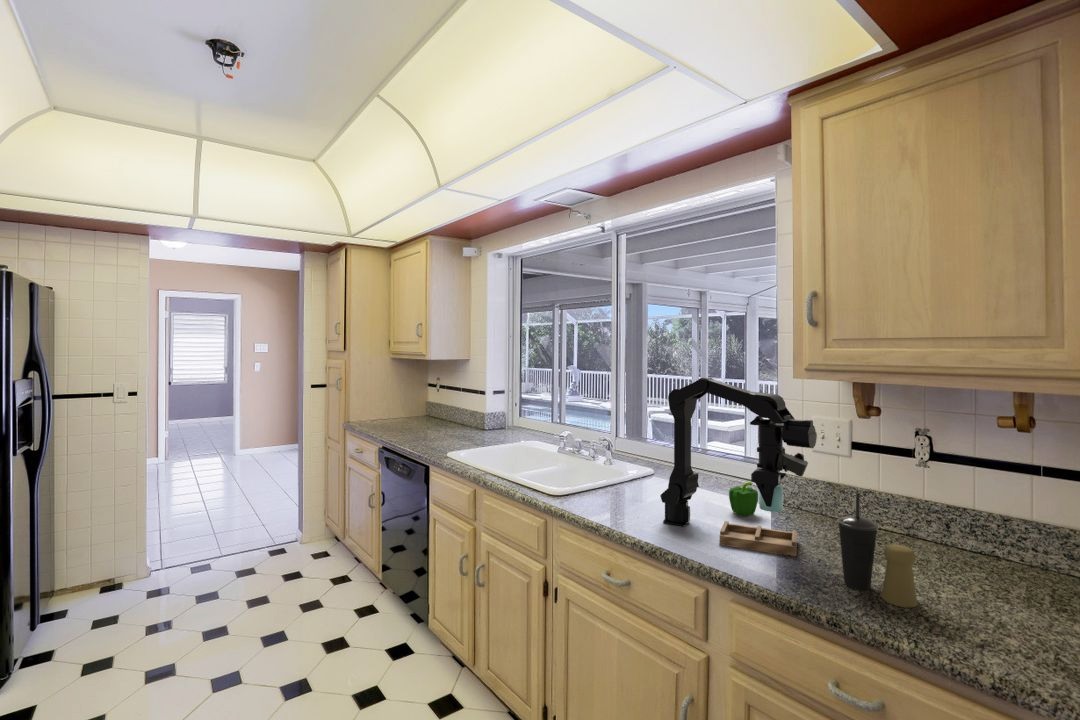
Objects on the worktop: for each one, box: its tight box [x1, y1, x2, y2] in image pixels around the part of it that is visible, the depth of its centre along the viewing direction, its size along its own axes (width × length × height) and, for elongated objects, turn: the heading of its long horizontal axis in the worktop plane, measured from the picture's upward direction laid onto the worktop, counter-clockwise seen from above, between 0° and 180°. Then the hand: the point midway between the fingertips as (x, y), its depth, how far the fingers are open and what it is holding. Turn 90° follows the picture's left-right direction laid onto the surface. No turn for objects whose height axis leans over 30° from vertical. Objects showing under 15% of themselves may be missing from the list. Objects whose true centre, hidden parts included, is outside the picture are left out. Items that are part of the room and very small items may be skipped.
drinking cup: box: [837, 492, 880, 591], centre depth 112 cm, size 8×8×20 cm
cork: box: [881, 543, 918, 609], centre depth 105 cm, size 6×6×11 cm
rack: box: [719, 520, 798, 557], centre depth 136 cm, size 18×11×3 cm, turn 63°
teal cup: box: [758, 483, 784, 513], centre depth 133 cm, size 6×6×6 cm
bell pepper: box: [728, 481, 759, 517], centre depth 160 cm, size 8×8×10 cm
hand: (770, 503), depth 133 cm, fingers closed on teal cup, 5 cm apart
